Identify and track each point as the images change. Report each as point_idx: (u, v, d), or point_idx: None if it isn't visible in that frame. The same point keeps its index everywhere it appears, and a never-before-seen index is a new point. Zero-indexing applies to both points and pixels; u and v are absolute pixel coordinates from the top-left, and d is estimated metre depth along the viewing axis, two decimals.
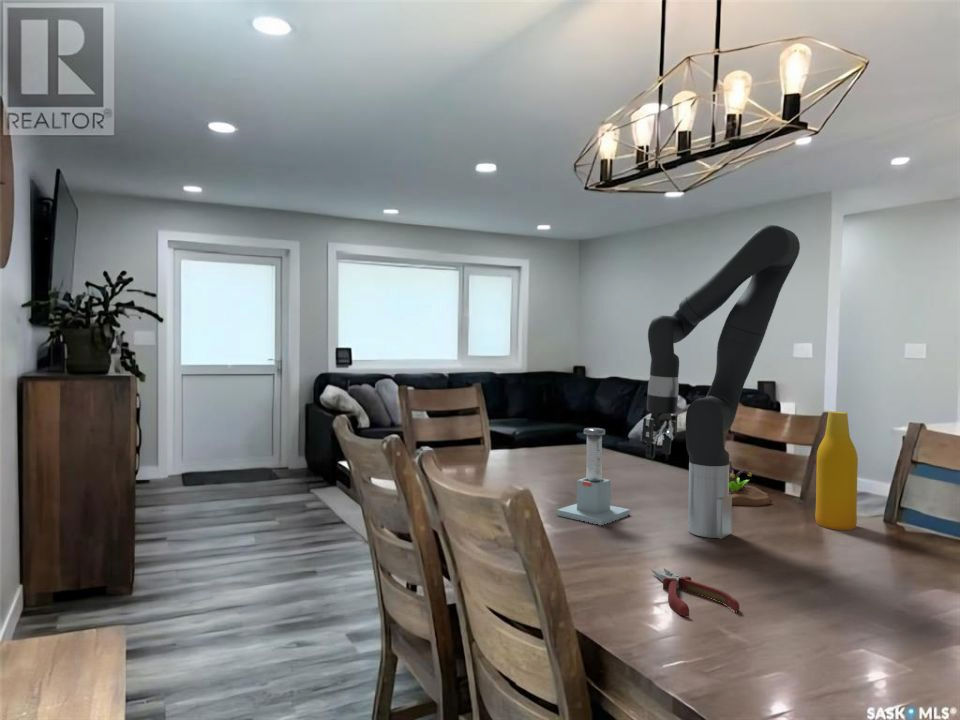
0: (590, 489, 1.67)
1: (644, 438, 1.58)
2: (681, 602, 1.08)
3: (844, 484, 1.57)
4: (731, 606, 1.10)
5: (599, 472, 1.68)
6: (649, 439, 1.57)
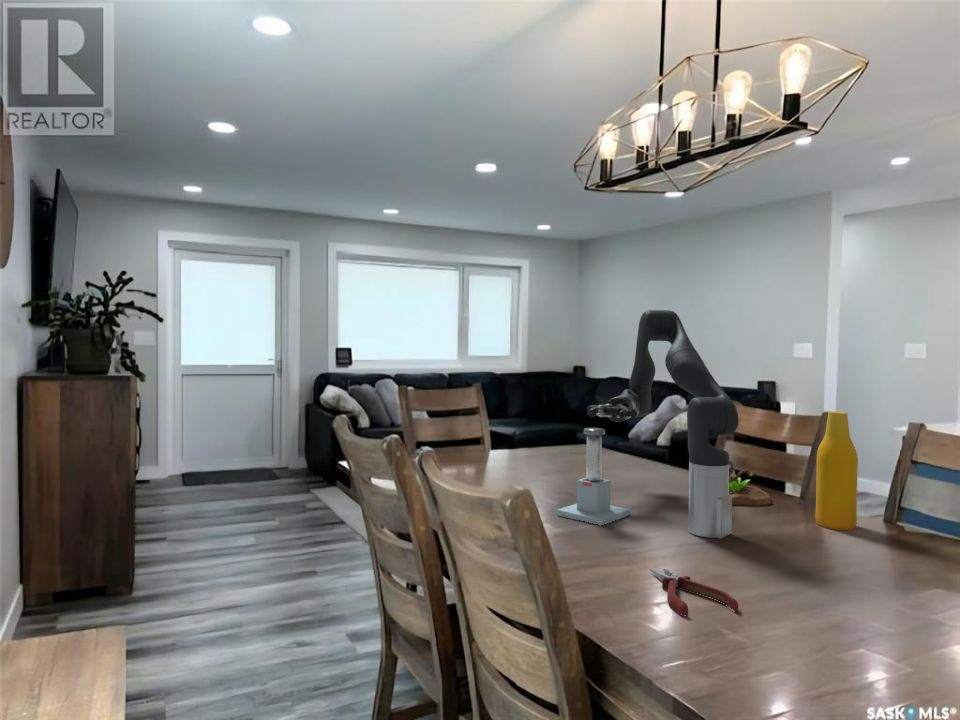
0: (590, 489, 1.67)
1: None
2: (680, 601, 1.09)
3: (844, 484, 1.57)
4: (730, 605, 1.10)
5: (599, 472, 1.68)
6: None
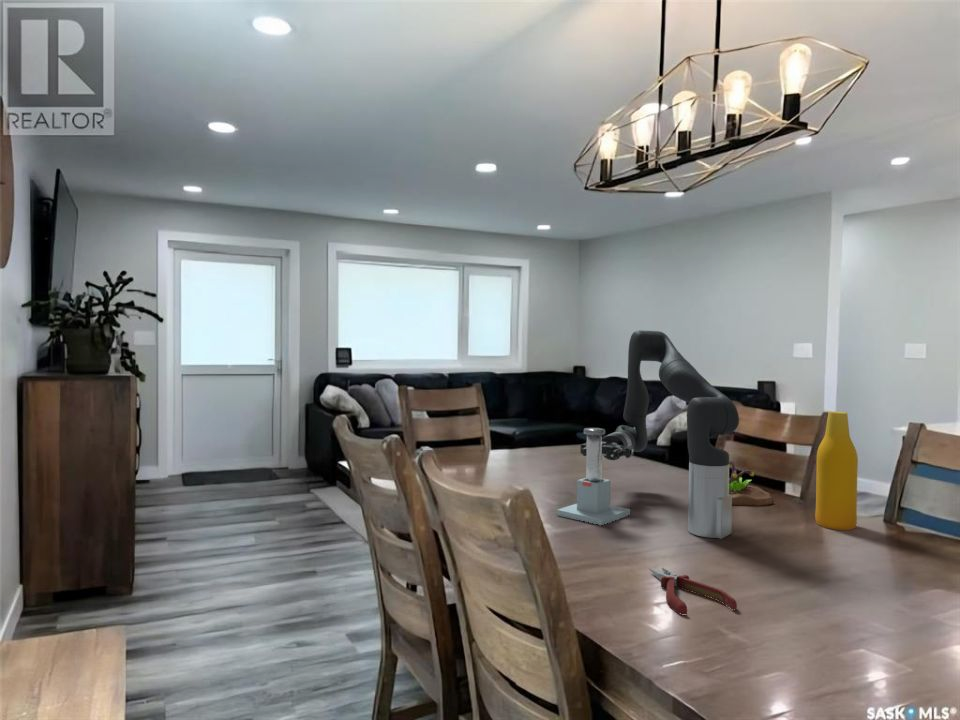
0: (590, 489, 1.67)
1: None
2: (679, 601, 1.09)
3: (844, 484, 1.57)
4: (729, 604, 1.10)
5: (599, 472, 1.68)
6: None
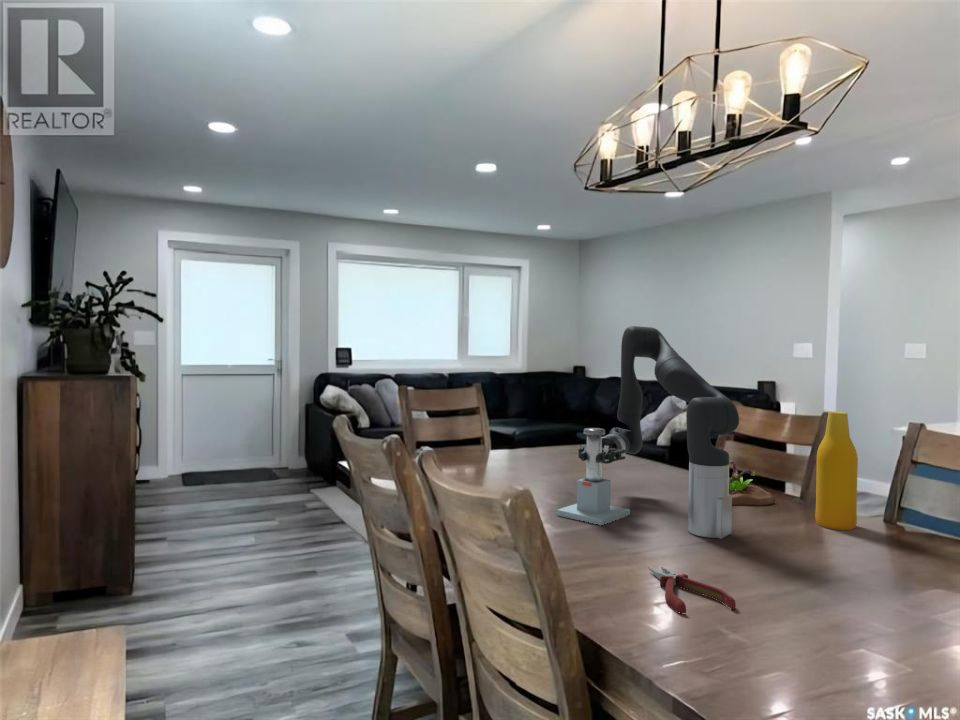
0: (590, 489, 1.67)
1: None
2: (678, 599, 1.09)
3: (844, 484, 1.57)
4: (727, 603, 1.11)
5: (599, 472, 1.68)
6: None
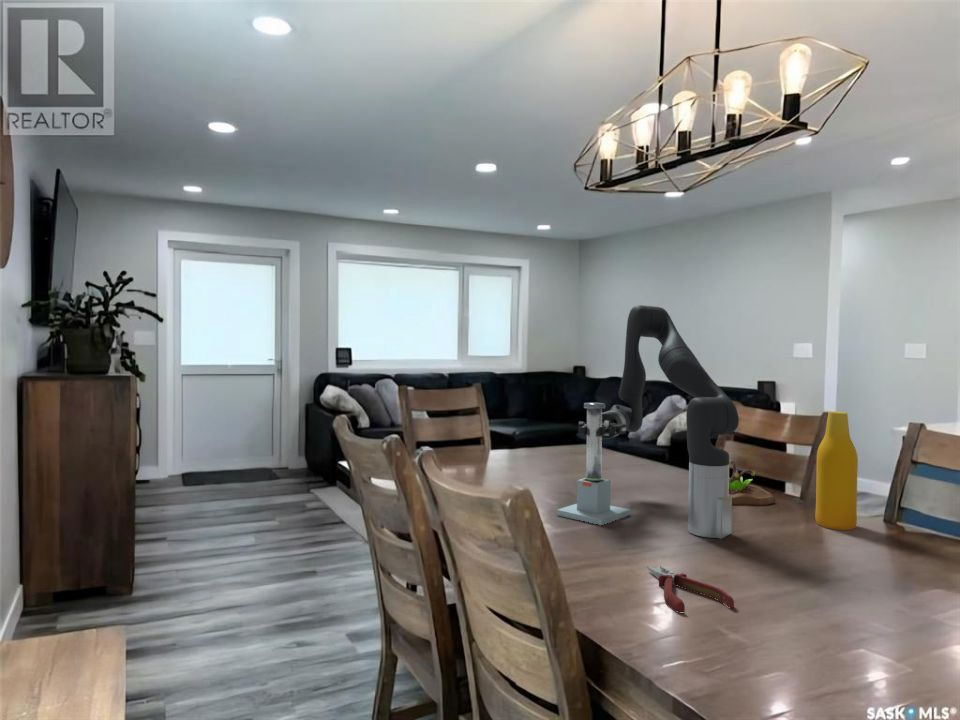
0: (590, 489, 1.67)
1: None
2: (677, 598, 1.10)
3: (844, 484, 1.57)
4: (726, 602, 1.11)
5: (599, 446, 1.68)
6: None
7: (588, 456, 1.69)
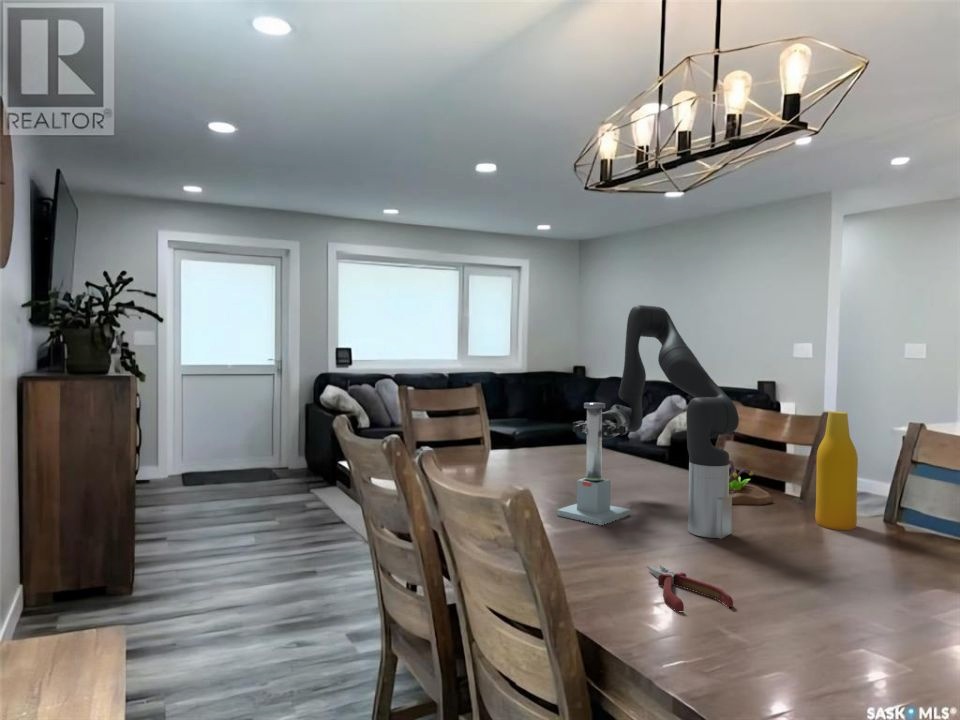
0: (590, 489, 1.67)
1: None
2: (676, 598, 1.10)
3: (844, 484, 1.57)
4: (725, 602, 1.12)
5: (599, 446, 1.68)
6: None
7: (588, 456, 1.69)
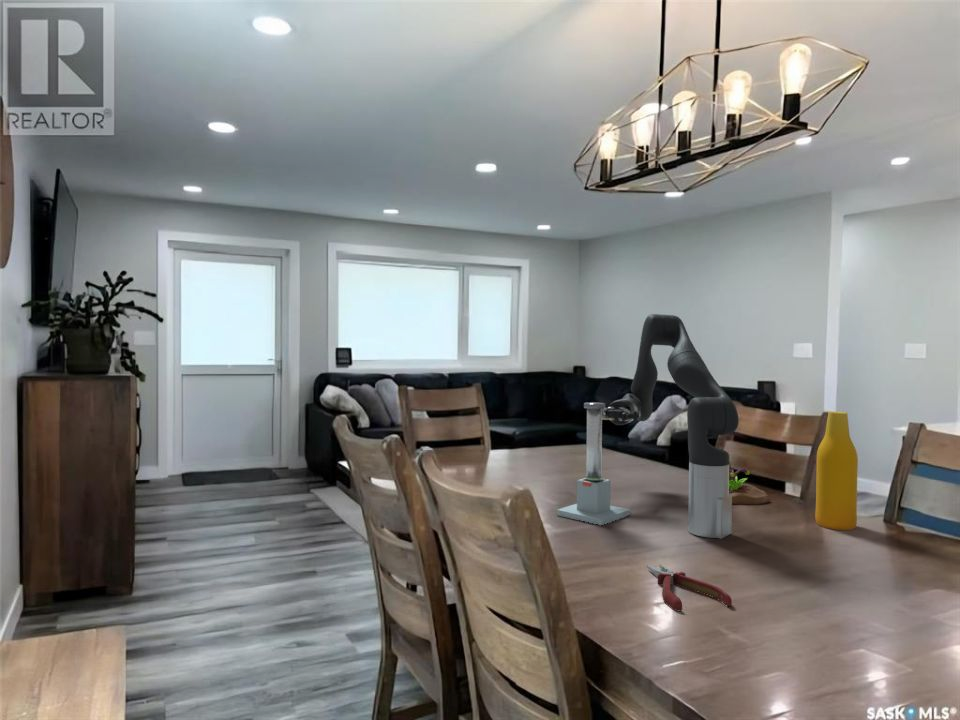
0: (590, 489, 1.67)
1: None
2: (674, 597, 1.11)
3: (844, 484, 1.57)
4: (724, 601, 1.12)
5: (599, 446, 1.68)
6: None
7: (588, 456, 1.69)
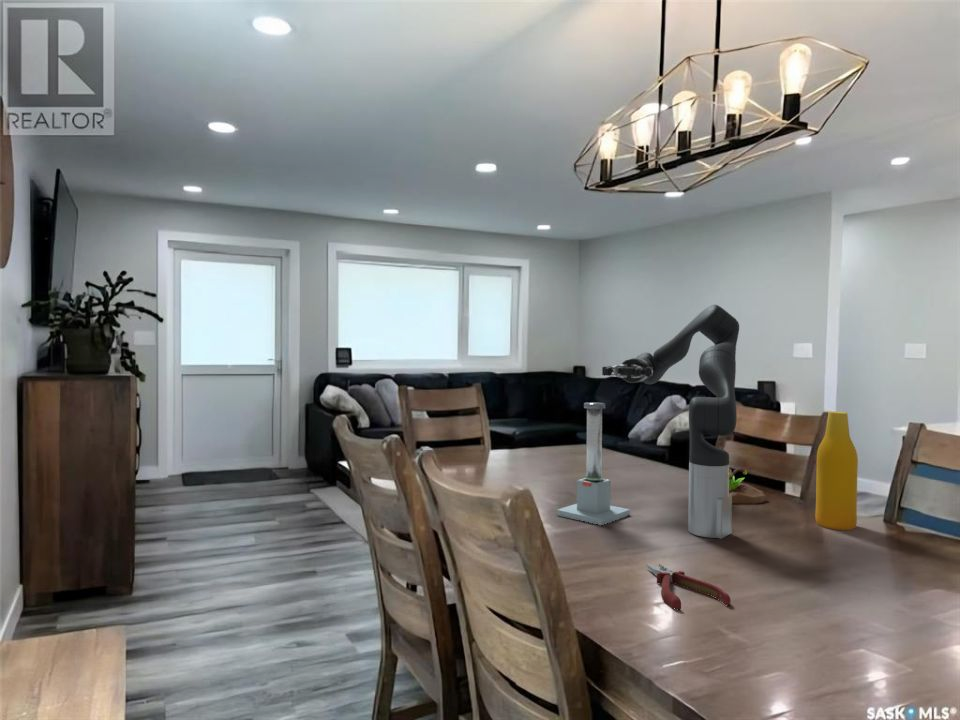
0: (590, 489, 1.67)
1: None
2: (673, 595, 1.11)
3: (844, 484, 1.57)
4: (722, 600, 1.12)
5: (599, 446, 1.68)
6: None
7: (588, 456, 1.69)
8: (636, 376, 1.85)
